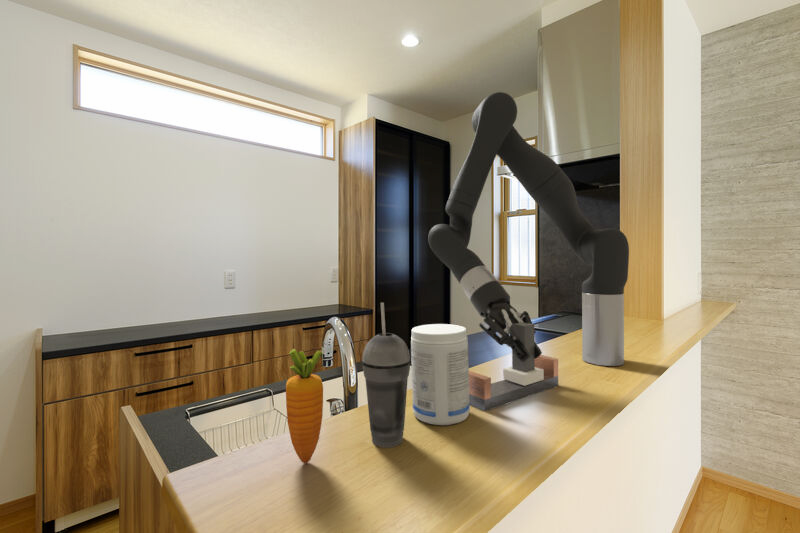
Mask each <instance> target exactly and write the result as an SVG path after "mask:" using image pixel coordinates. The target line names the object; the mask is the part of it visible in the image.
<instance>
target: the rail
mask: <svg viewBox="0 0 800 533" xmlns="http://www.w3.org/2000/svg"><path fill="white" fill-rule="evenodd" d="M535 367H536V368H540V369H544V380H541V381H538V382H535V383H532V384H528V385H525V386H524V385H521V384H518V383H514V382H511V381H508V380H505V379H502V380H499V381H495V382H492V377H489V376H488V375H487V376H486V375H483V374H480V373H477V372H474V371H471V370H469V404H470V406H471V407H472V408H473V407H474V408H475V409H477V410H481V411H483V412H487V411H491V410H493V409H496V408H499V407H501V406H504V405H507V404H510V403H512V402H515V401H518V400H522V399H524V398H527V397H531V396H532V395H535V394H538V393H541V392H544V391H547V390H550V389H552V388H556V387H558V386H559V358H556V357H551V356H547V355H542V354H541V355H540V356H539V357H538V358H536V359H535Z"/></svg>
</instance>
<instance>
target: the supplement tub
mask: <svg viewBox="0 0 800 533" xmlns="http://www.w3.org/2000/svg"><path fill="white" fill-rule="evenodd" d="M467 333H468V332H467V328H466V327H465V326H461V325H458V324H450V323H449V324H448V323H431V324H430V323H429V324H421V325H418V326H414V327H412V329H411V337H410V339H411V340H410V359H411V363H410V364H411V386H412V388H411V390H412V391H411V392H412V394H411V395H412V413H413V415H414V416H415V418H417V419H418V420H419V421H420V422H423V423H425V424H430V425H433V426H450V425H454V424H459V423H461V422H463V421H465V420H466V419H467V418H468V417H469V414H470V410H471V409H470V406H471V405H470V404H469V371H470V370H469V369H470V368H469V340H468V334H467Z"/></svg>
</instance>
